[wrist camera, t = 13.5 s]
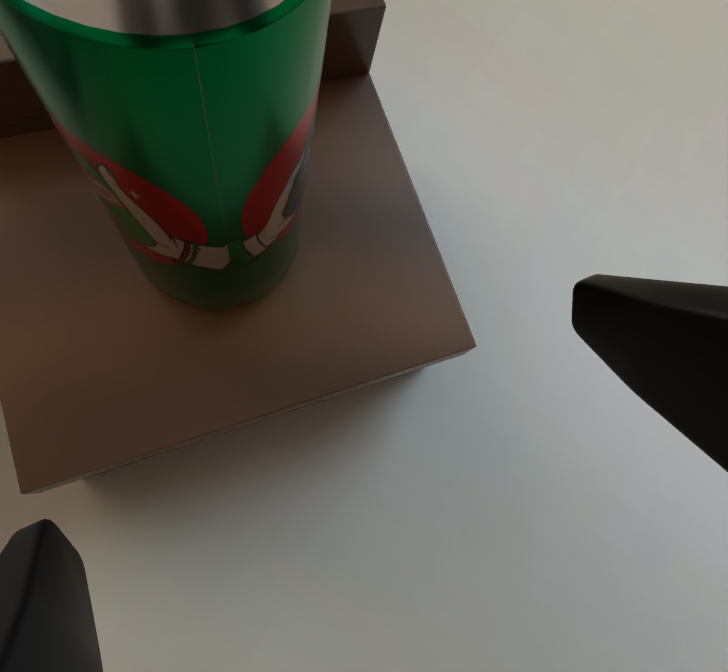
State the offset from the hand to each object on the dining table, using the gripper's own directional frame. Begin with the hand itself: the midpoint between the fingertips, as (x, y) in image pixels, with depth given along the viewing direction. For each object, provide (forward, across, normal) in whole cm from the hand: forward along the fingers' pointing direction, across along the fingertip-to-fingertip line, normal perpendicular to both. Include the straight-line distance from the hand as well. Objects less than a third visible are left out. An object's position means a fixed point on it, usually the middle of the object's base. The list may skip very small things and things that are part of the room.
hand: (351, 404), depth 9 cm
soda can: (+11, 0, +1) cm, 11 cm away
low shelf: (+14, 0, +4) cm, 14 cm away
